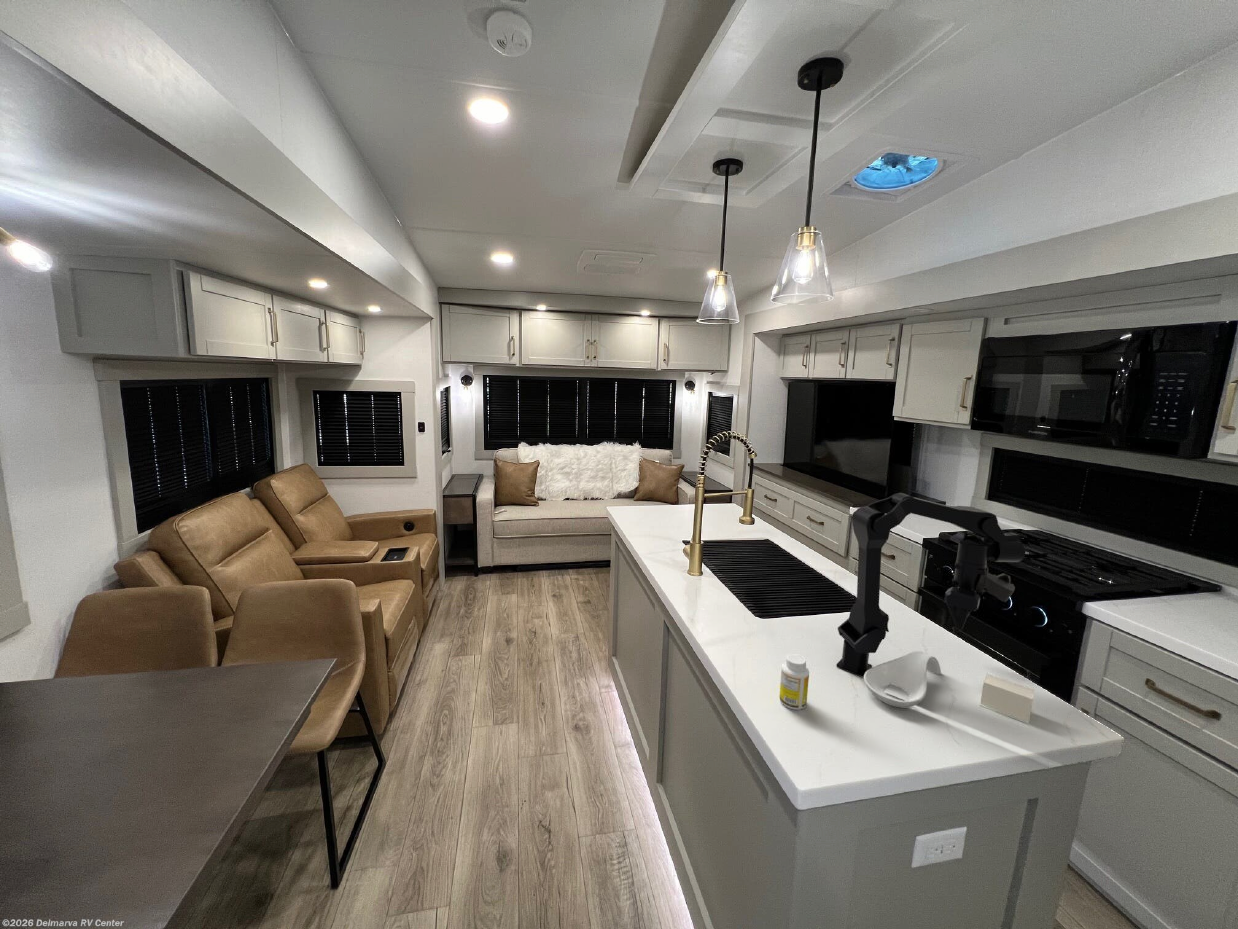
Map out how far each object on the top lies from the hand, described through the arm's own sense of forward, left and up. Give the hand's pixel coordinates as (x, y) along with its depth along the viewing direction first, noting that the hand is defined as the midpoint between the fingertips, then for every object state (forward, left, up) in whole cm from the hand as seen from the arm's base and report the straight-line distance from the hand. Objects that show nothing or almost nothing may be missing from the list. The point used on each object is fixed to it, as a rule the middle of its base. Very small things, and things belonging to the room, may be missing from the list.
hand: (962, 622), depth 116 cm
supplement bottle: (-42, +23, -12) cm, 49 cm away
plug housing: (-13, -10, -11) cm, 20 cm away
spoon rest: (-19, +7, -12) cm, 23 cm away
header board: (-9, -10, -12) cm, 18 cm away
